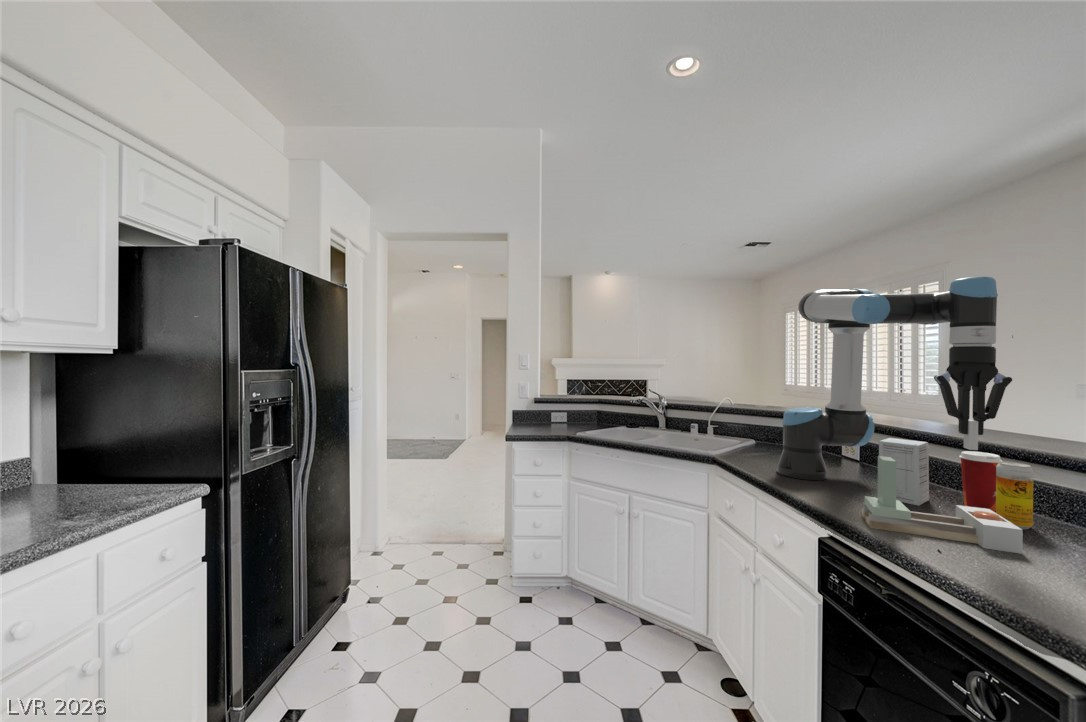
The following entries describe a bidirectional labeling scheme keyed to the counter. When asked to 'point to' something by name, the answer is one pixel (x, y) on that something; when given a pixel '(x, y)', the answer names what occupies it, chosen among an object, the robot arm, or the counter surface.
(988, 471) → the coffee cup
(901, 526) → the rail track
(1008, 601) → the counter surface
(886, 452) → the supplement box
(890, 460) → the stand
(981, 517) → the button
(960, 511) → the white rectangular block
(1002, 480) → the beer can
